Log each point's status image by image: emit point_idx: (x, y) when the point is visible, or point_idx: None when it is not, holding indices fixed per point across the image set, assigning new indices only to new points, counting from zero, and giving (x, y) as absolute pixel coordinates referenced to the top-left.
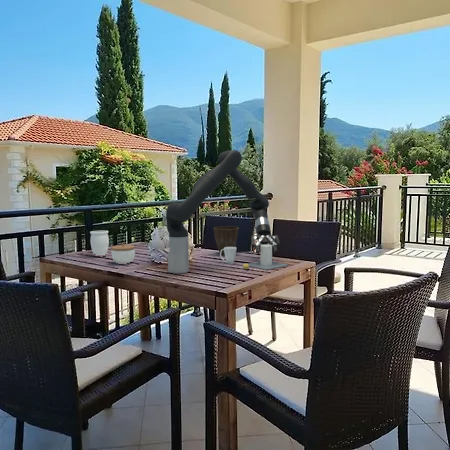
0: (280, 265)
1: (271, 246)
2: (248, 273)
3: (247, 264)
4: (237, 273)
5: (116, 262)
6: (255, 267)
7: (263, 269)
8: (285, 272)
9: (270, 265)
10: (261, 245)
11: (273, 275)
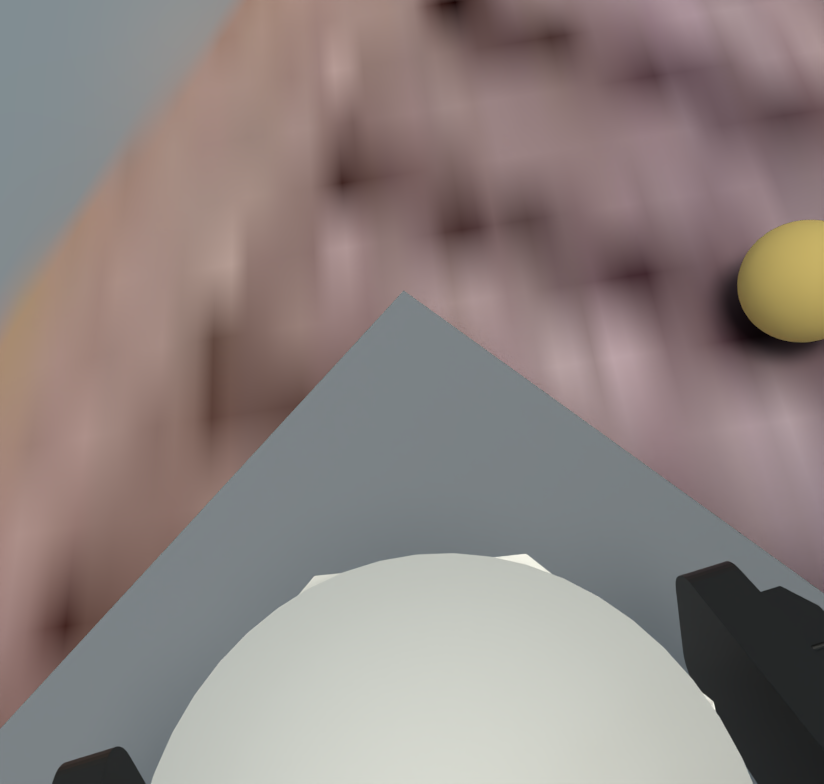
0: (128, 682)
1: (175, 762)
2: (651, 70)
3: (785, 242)
4: (817, 44)
5: None
6: (641, 468)
7: (459, 339)
8: (90, 214)
9: None
10: (689, 720)
11: (274, 24)
